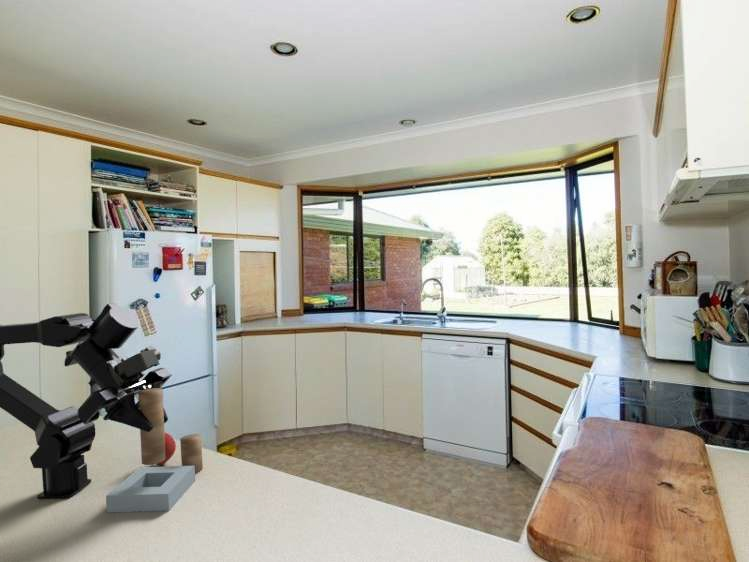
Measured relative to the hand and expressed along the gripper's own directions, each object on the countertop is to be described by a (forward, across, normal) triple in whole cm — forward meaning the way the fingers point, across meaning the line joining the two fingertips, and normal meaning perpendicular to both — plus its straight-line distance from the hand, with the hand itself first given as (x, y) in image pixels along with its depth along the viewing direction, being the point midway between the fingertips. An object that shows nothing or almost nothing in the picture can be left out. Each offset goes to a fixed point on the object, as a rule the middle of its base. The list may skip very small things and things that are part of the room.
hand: (158, 425), depth 83 cm
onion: (+4, +12, +16) cm, 20 cm away
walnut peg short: (+9, +10, +10) cm, 17 cm away
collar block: (+8, 0, +10) cm, 13 cm away
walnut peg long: (+4, 0, +6) cm, 7 cm away
